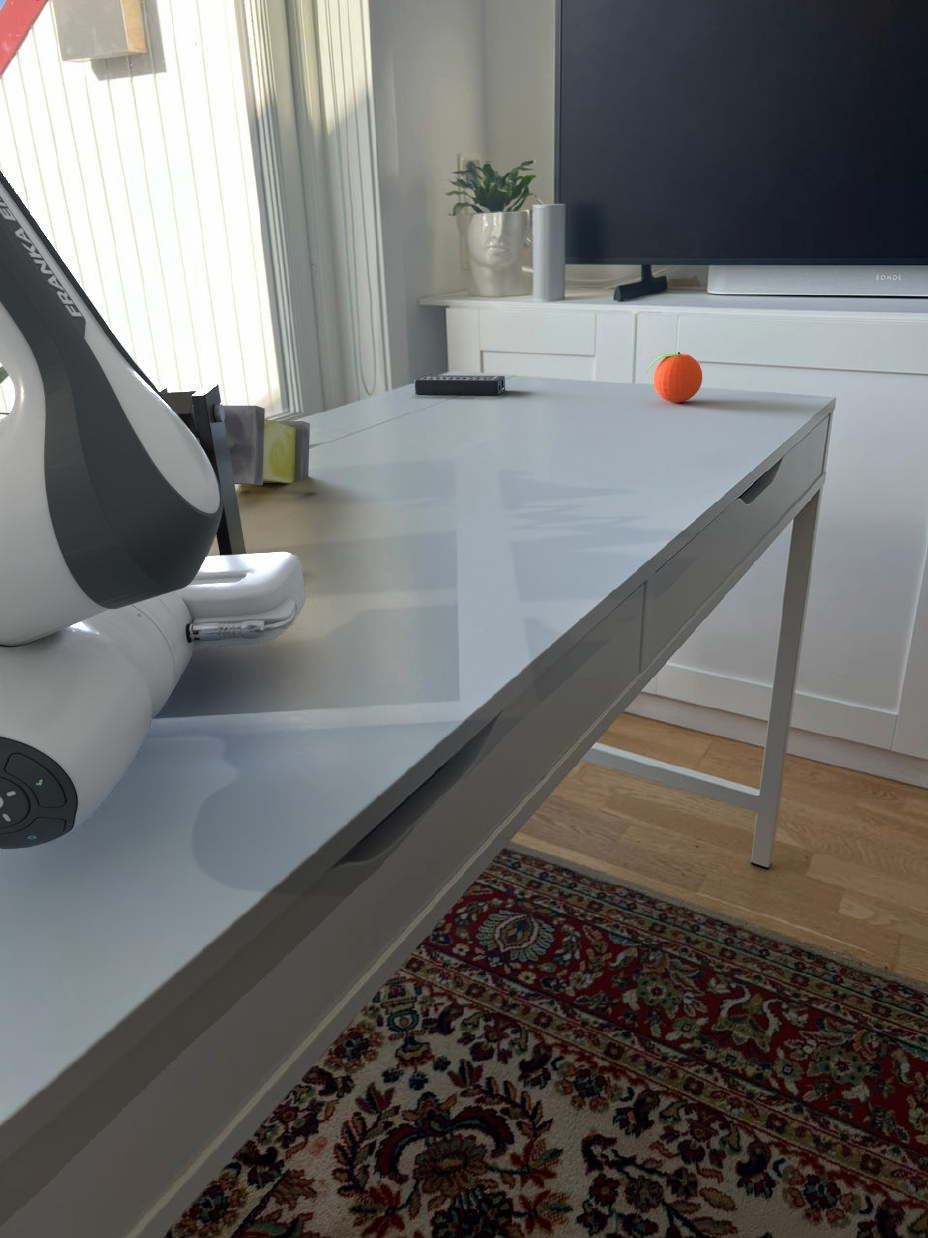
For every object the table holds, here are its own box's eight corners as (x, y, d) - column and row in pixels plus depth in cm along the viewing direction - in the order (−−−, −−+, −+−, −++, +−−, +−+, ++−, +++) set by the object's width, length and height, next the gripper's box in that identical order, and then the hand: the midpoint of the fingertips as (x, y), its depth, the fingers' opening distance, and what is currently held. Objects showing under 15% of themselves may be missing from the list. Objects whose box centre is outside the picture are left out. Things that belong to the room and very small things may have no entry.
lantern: (244, 571, 107) (67, 575, 78) (248, 423, 106) (69, 371, 77) (305, 575, 105) (146, 580, 76) (310, 423, 104) (150, 370, 75)
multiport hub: (424, 388, 156) (423, 374, 155) (506, 389, 151) (505, 375, 150) (414, 394, 152) (413, 379, 151) (497, 395, 147) (496, 380, 146)
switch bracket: (278, 617, 72) (244, 399, 65) (124, 626, 72) (74, 409, 65) (297, 570, 81) (270, 374, 74) (161, 578, 81) (120, 384, 74)
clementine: (649, 408, 132) (650, 357, 129) (642, 399, 138) (643, 350, 135) (705, 405, 132) (708, 354, 129) (696, 396, 138) (698, 347, 135)
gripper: (281, 581, 53) (314, 507, 65) (-75, 601, 53) (26, 524, 66) (296, 678, 55) (324, 589, 68) (-43, 697, 56) (47, 605, 68)
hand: (175, 557), depth 67 cm, fingers closed
